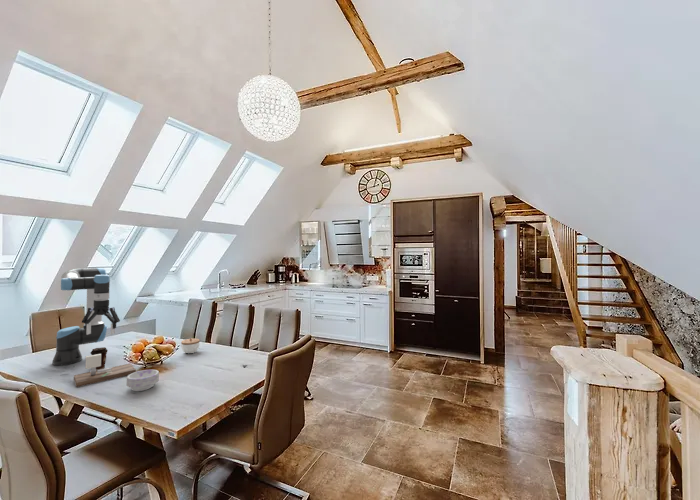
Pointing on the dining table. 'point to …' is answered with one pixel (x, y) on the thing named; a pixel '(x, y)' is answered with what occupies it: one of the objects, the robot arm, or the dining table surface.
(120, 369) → the board
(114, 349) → the dining table surface
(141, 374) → the white floral bowl
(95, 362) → the white piece
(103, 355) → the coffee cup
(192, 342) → the lidded bowl
